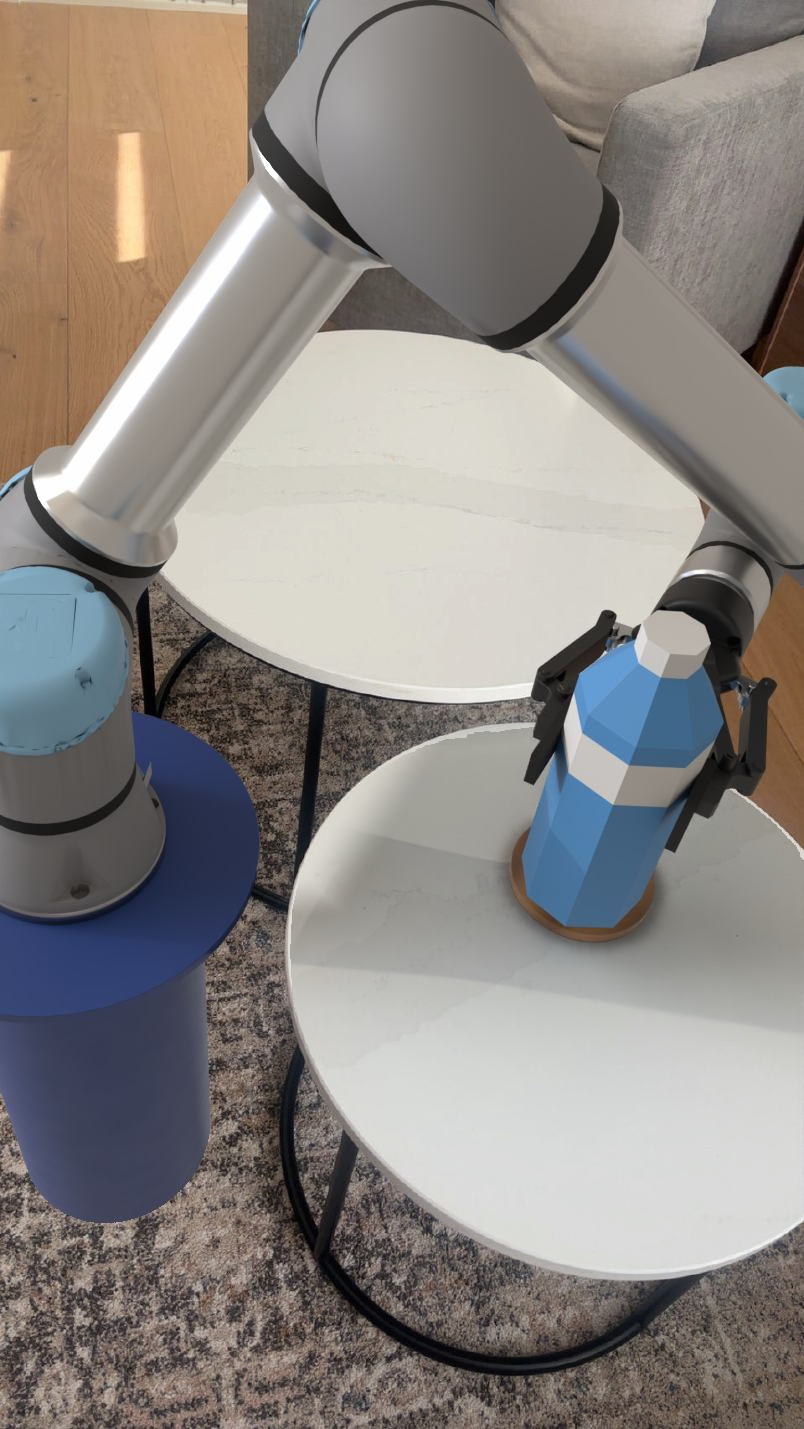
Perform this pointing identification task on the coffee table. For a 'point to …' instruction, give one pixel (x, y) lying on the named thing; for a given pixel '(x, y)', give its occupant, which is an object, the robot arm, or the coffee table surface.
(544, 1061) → the coffee table surface
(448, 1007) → the coffee table surface
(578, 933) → the coaster
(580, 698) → the water bottle
